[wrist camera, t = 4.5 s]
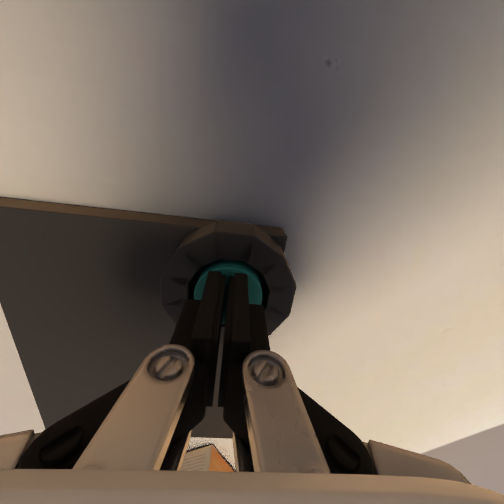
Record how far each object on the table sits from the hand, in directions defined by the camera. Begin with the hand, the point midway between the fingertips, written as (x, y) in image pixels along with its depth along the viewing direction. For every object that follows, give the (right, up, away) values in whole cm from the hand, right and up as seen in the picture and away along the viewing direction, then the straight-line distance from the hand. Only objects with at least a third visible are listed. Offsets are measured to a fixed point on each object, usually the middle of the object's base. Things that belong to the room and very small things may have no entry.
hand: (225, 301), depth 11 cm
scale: (-5, -3, +5) cm, 8 cm away
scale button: (0, +1, +1) cm, 2 cm away
